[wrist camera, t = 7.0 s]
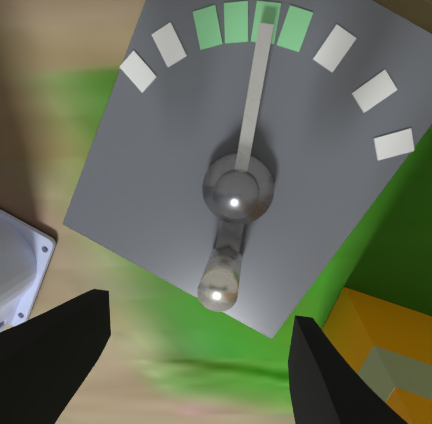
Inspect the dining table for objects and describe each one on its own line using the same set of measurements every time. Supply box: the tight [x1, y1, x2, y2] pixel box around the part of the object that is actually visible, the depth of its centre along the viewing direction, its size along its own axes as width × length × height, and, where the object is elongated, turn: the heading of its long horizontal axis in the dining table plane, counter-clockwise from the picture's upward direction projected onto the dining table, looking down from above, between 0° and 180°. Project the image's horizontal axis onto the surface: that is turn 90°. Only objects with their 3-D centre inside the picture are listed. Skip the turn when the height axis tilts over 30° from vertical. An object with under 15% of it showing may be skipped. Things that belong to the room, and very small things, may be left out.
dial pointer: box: [197, 23, 274, 312], centre depth 15 cm, size 14×4×4 cm, turn 172°
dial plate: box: [63, 0, 432, 339], centre depth 18 cm, size 19×16×3 cm
